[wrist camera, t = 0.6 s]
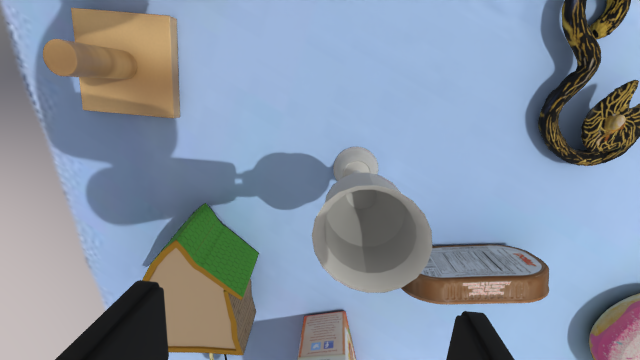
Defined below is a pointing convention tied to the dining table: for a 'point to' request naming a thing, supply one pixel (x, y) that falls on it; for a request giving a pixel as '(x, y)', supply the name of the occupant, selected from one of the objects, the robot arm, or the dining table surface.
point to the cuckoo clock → (206, 287)
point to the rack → (121, 62)
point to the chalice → (369, 228)
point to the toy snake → (606, 116)
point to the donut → (617, 332)
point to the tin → (480, 276)
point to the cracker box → (326, 338)
